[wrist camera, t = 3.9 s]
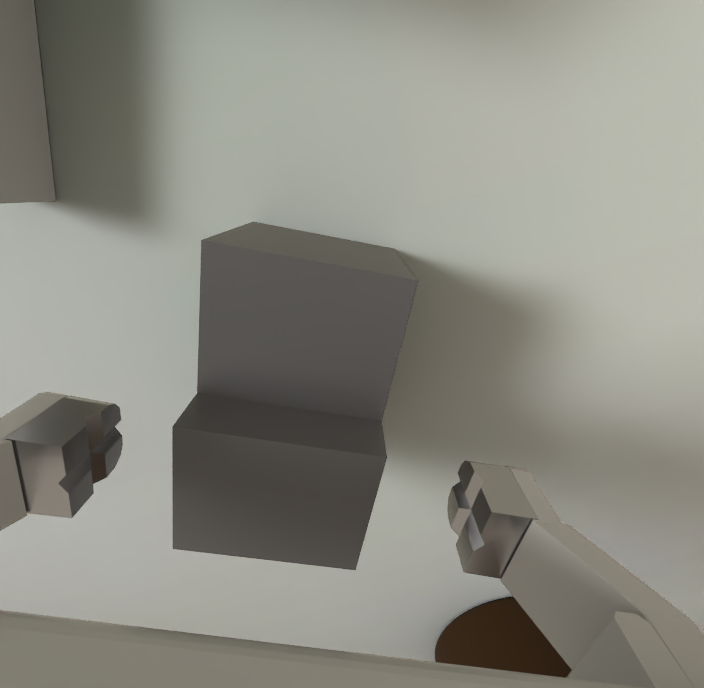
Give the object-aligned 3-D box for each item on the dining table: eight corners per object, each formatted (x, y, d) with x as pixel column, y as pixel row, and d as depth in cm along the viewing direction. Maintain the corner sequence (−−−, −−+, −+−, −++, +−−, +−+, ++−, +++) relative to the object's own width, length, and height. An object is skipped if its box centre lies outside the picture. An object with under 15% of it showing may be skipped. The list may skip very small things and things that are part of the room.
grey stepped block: (352, 429, 16) (355, 569, 10) (238, 413, 16) (172, 548, 10) (393, 248, 13) (430, 297, 7) (254, 221, 13) (171, 250, 7)
